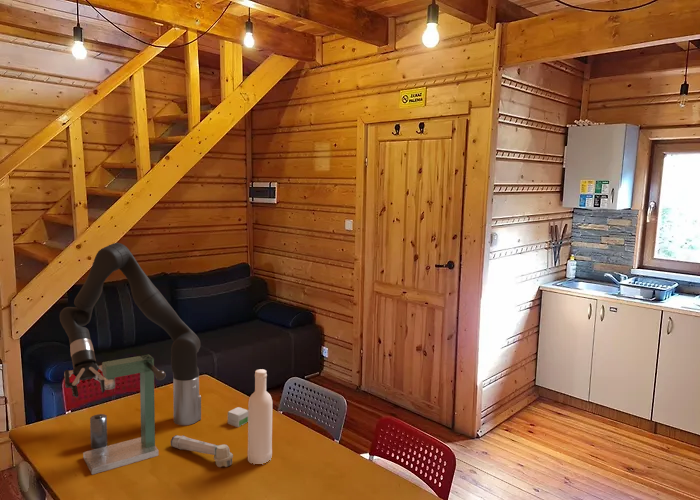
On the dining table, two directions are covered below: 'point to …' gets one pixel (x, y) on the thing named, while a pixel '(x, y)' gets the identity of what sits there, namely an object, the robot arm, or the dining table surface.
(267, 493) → the dining table surface
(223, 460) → the white handheld tool
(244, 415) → the small box
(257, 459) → the bottle
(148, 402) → the press
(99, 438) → the cylinder
